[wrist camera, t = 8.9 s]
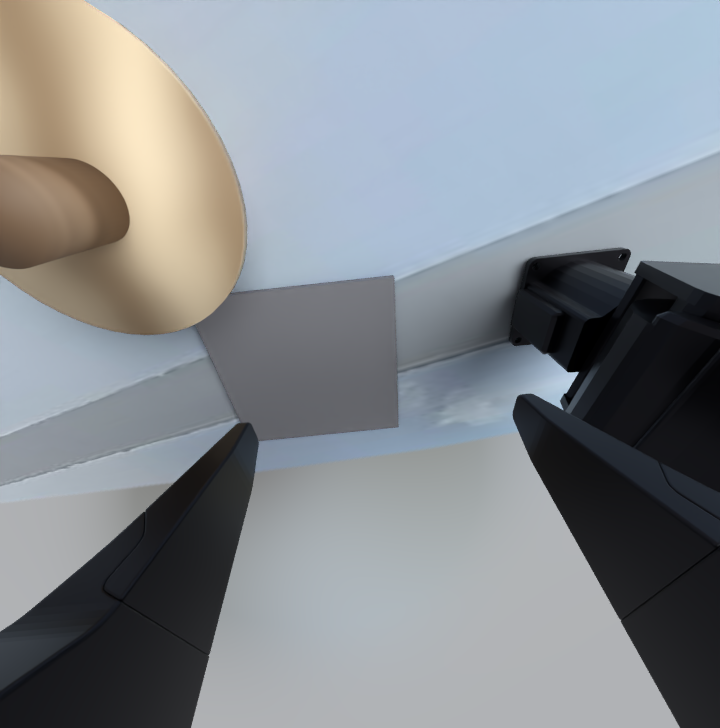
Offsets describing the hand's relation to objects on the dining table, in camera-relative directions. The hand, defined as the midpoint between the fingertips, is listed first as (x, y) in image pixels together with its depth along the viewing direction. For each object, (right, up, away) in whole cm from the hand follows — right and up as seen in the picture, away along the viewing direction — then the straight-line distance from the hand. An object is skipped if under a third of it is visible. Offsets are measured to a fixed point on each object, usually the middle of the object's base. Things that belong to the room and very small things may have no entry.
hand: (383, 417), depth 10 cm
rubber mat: (-5, +1, +13) cm, 14 cm away
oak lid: (-12, +9, +3) cm, 15 cm away
